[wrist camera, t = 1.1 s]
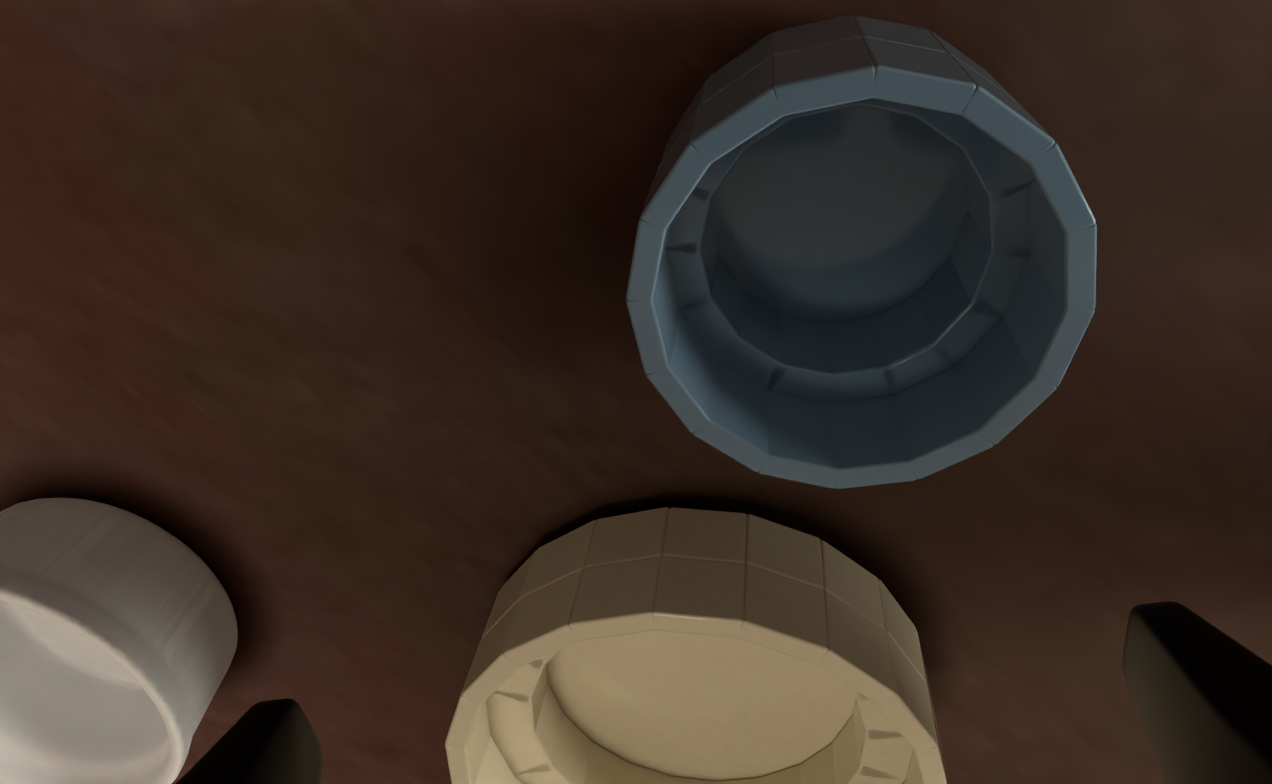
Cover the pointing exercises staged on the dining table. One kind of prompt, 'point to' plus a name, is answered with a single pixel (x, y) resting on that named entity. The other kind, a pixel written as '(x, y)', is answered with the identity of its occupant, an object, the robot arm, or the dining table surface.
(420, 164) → the dining table surface
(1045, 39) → the dining table surface
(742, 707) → the cream bowl
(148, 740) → the ramekin
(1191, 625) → the robot arm
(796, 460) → the slate bowl
